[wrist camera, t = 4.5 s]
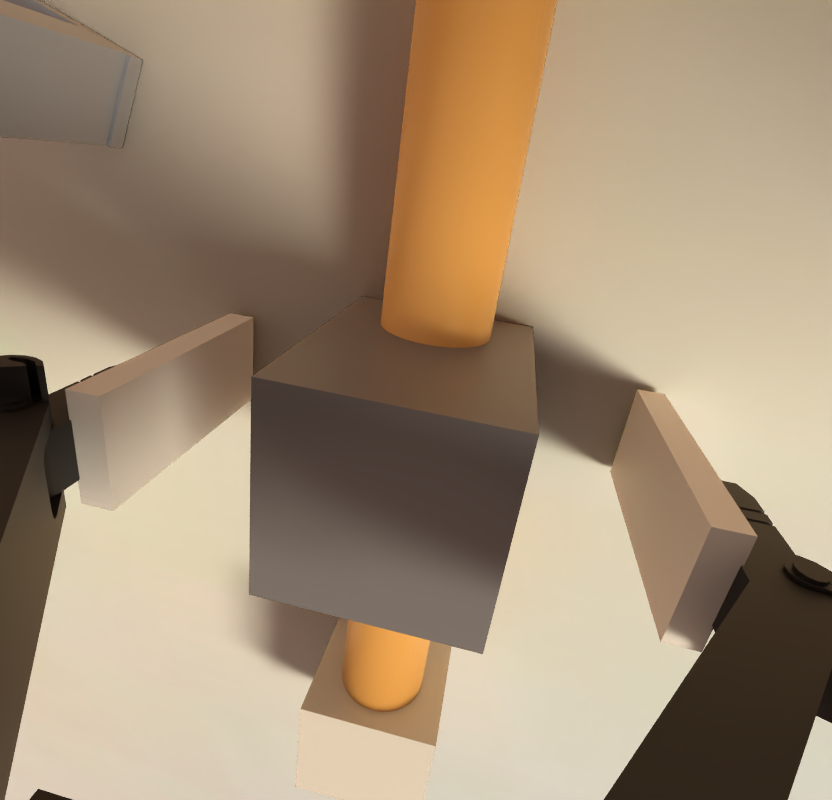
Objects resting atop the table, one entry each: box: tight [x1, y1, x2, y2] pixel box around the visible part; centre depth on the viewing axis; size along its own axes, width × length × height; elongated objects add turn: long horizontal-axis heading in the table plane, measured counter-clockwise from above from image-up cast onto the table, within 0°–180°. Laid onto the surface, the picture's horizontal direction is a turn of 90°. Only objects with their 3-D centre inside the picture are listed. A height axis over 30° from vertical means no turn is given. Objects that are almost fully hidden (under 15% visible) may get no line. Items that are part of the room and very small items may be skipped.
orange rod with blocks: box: [249, 0, 557, 800], centre depth 14 cm, size 25×5×7 cm, turn 172°
